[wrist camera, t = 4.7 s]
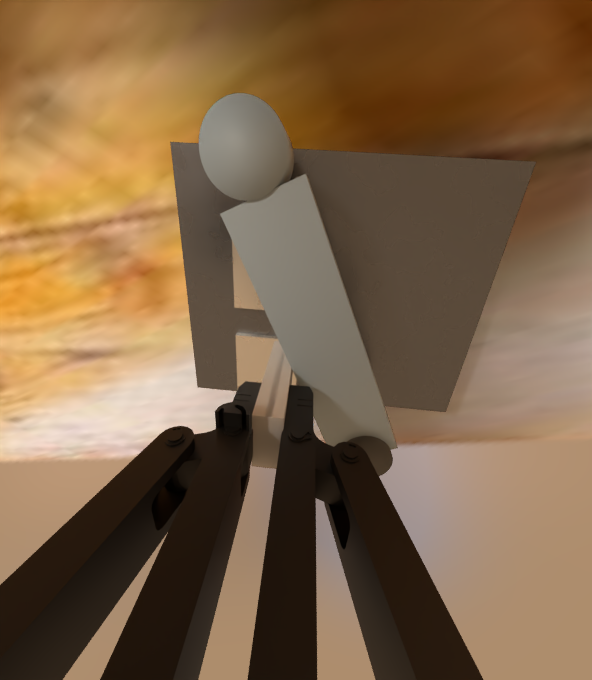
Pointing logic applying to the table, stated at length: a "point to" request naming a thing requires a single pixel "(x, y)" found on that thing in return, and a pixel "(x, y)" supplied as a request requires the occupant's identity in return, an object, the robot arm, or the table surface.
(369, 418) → the swing arm
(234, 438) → the robot arm
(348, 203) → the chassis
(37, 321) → the table surface
